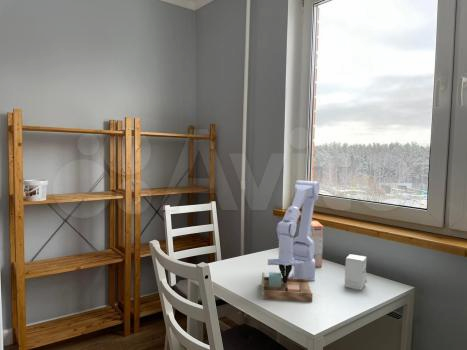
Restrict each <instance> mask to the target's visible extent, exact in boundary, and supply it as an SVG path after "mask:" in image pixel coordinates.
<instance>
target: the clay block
mask: <svg viewBox="0 0 467 350" xmlns="http://www.w3.org/2000/svg"><path fill="white" fill-rule="evenodd" d="M287 292H300V289H299V285H287Z"/></svg>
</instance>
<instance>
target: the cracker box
mask: <svg viewBox="0 0 467 350" xmlns="http://www.w3.org/2000/svg"><path fill="white" fill-rule="evenodd" d="M309 237H310V238H311V239H312V240H313V242H314V243H315V246H314V248H315V253H314V256H313V258H312V259H315V268H322V265H323V248H324V247H323V246H324V244H323V243H324V225H322V224H321V223H320V222H319V221H318V220H312V222H311V229H310V236H309ZM305 244H308V243H305ZM308 245H309V244H308Z"/></svg>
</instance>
